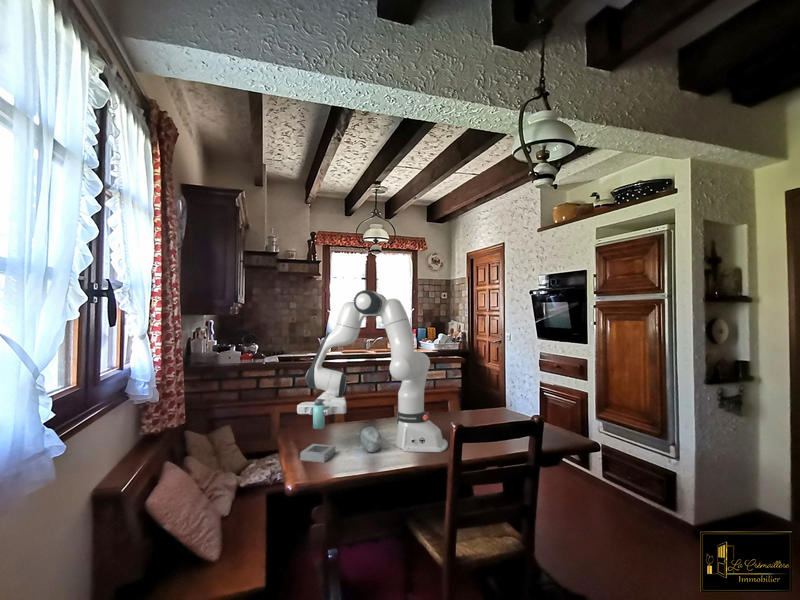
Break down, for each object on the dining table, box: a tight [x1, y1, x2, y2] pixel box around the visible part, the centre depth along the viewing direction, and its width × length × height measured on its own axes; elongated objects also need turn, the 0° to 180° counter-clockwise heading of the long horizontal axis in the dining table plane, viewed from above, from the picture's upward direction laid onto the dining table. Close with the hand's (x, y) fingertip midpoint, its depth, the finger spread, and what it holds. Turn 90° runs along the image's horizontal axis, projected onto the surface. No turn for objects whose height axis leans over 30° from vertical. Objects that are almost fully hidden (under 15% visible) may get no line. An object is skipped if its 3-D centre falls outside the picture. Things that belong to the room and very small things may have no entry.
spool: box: [359, 426, 383, 453], centre depth 163 cm, size 14×10×10 cm
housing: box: [299, 443, 336, 463], centre depth 153 cm, size 10×10×3 cm
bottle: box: [312, 398, 326, 430], centre depth 156 cm, size 4×4×11 cm
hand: (318, 412), depth 155 cm, fingers closed on bottle, 4 cm apart
